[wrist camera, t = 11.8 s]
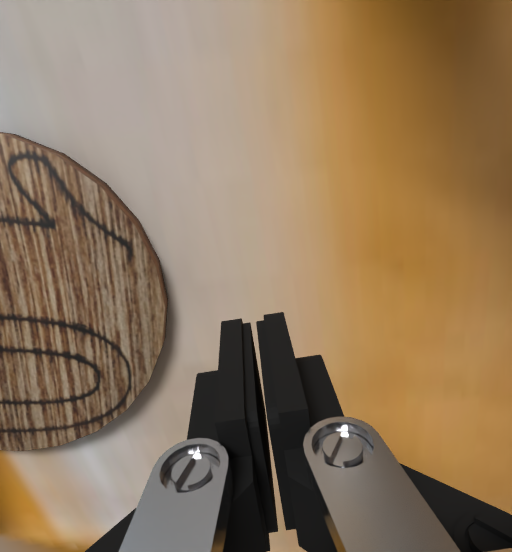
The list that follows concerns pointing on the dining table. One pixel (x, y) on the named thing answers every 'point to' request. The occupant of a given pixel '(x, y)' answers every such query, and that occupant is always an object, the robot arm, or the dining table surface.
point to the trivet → (70, 299)
